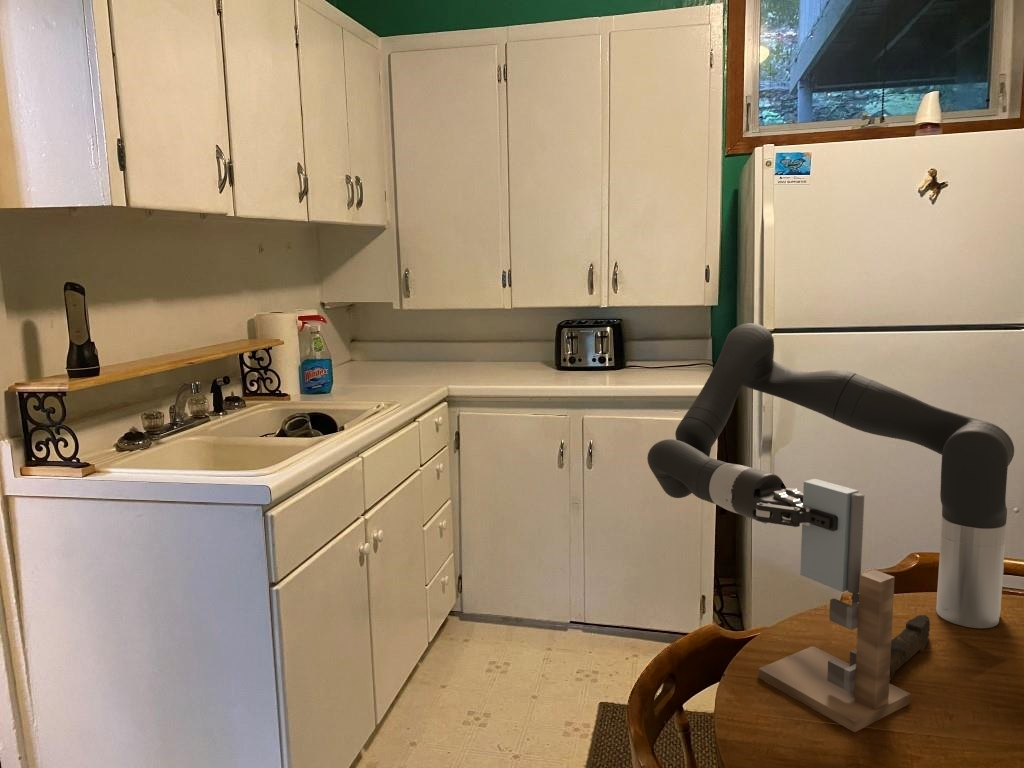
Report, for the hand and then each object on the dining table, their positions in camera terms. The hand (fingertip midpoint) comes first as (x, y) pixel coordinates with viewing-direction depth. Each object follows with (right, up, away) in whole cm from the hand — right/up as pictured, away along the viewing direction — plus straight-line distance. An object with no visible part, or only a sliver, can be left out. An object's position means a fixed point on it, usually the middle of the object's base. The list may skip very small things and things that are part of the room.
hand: (842, 521), depth 105 cm
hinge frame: (0, -25, +5) cm, 26 cm away
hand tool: (+14, -24, +13) cm, 31 cm away
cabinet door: (-1, -9, +3) cm, 10 cm away
